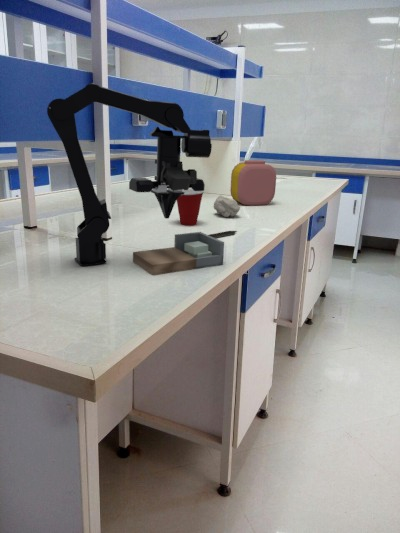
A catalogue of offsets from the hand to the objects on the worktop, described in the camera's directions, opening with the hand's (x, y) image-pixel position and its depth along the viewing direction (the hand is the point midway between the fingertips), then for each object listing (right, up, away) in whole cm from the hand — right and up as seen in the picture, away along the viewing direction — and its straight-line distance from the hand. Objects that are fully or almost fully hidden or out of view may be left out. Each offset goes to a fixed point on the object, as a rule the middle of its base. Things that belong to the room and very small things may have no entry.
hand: (166, 218), depth 116 cm
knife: (+12, -4, +27) cm, 30 cm away
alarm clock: (+33, +16, +90) cm, 97 cm away
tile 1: (+8, -9, +2) cm, 12 cm away
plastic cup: (+4, +3, +45) cm, 45 cm away
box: (+8, -11, +3) cm, 14 cm away
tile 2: (+9, -10, +3) cm, 14 cm away
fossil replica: (+19, +7, +61) cm, 64 cm away
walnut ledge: (0, -12, -2) cm, 12 cm away
